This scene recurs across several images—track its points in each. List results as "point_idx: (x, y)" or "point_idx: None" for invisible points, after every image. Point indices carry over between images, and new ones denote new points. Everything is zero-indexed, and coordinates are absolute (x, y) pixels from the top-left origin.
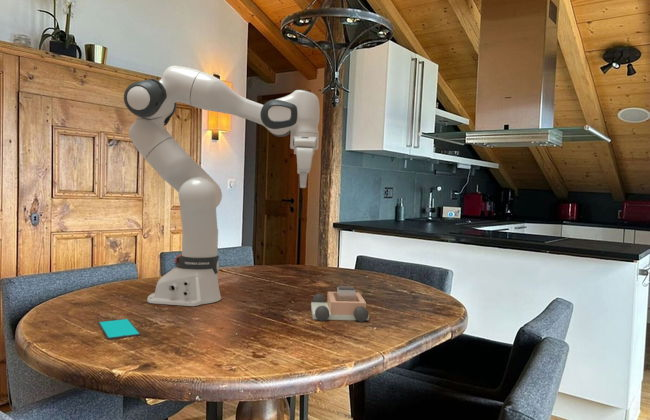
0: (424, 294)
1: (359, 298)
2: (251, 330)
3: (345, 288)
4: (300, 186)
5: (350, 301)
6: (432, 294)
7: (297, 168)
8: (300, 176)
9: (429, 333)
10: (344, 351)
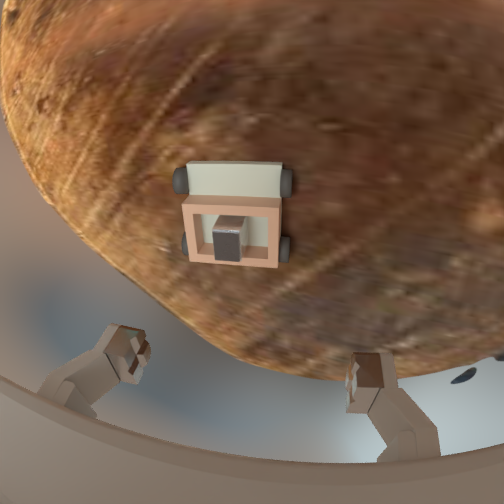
0: None
1: None
2: (115, 68)
3: (213, 243)
4: (109, 325)
5: (195, 238)
6: None
7: (480, 497)
8: (54, 372)
9: (158, 303)
10: (71, 197)
